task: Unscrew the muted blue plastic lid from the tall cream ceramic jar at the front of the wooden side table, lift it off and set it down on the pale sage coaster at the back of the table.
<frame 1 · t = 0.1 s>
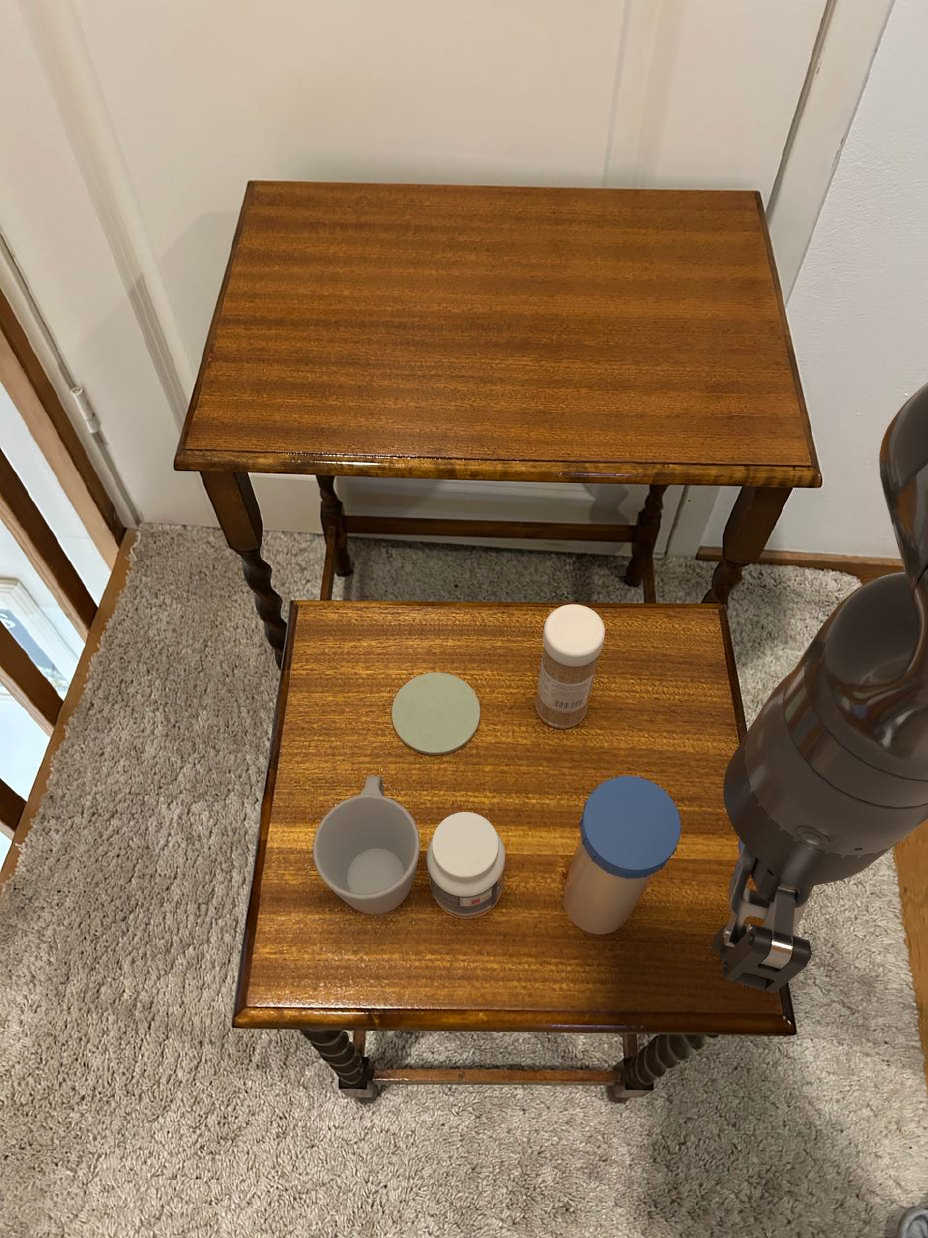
hand: (740, 874, 53), 20 cm above the table, tool pointing down, fingers open, 8 cm apart
pill bottle: (466, 884, 73), on the table
sprinkles bottle: (560, 707, 81), on the table
jar: (597, 898, 72), on the table
coaster: (436, 714, 81), on the table
cup: (377, 864, 74), on the table
jar lid: (631, 823, 57), point 18 cm above the table, screwed on, not yet turned
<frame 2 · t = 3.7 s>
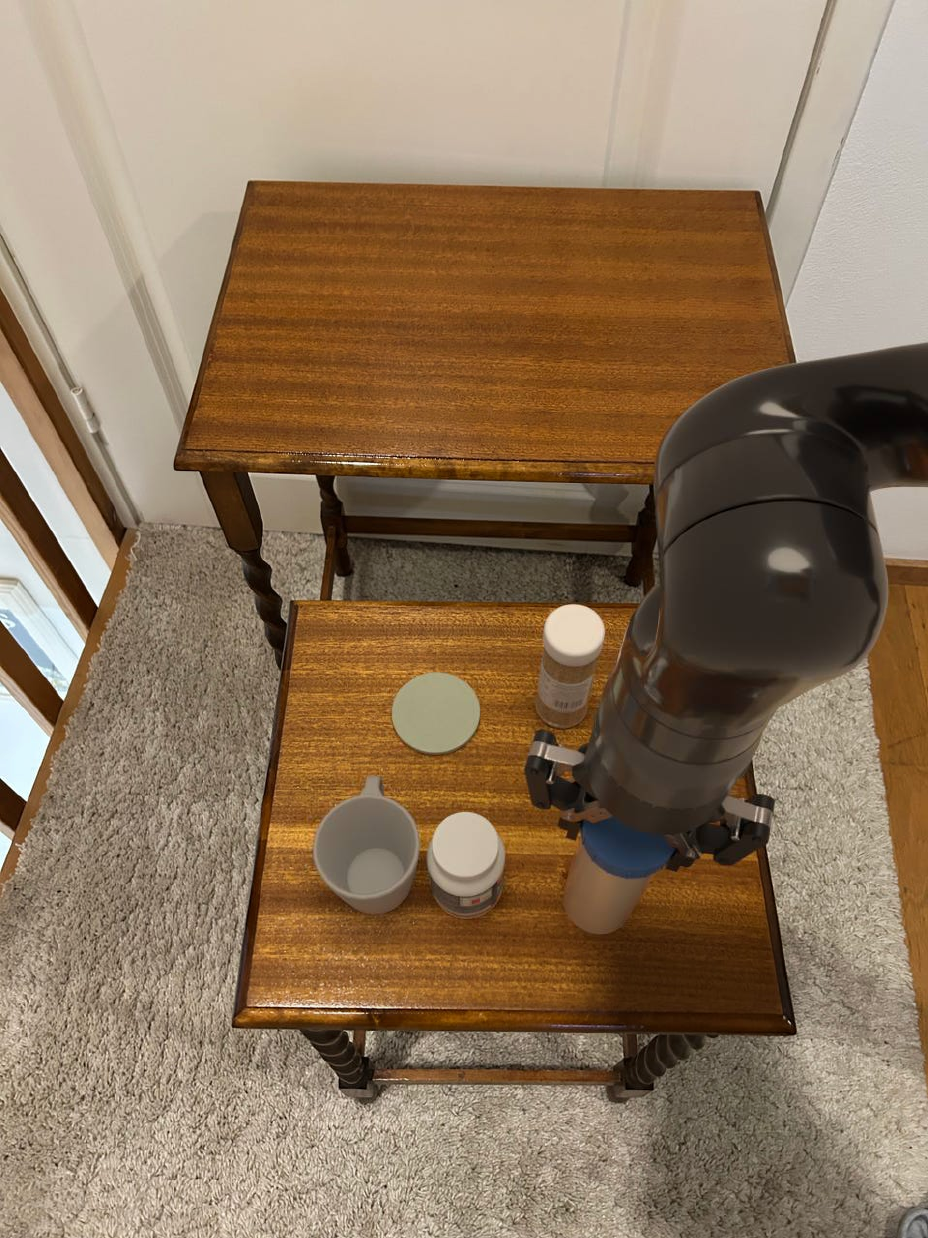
hand: (623, 840, 60), 14 cm above the table, tool pointing down, fingers closed on jar lid, 6 cm apart
jar lid: (631, 823, 57), point 18 cm above the table, screwed on, not yet turned, touching gripper
everything else where it was.
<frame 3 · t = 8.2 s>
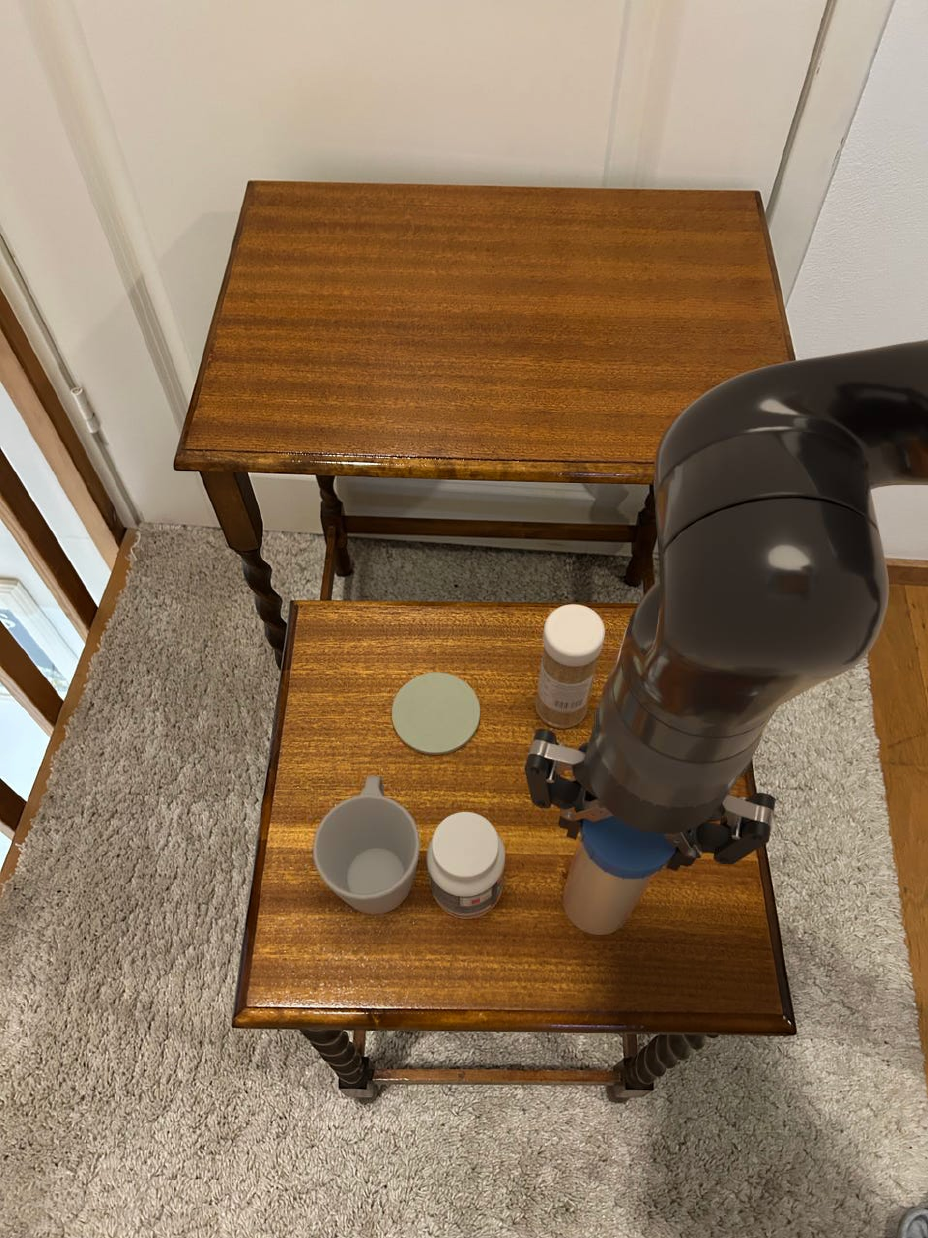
hand: (623, 839, 60), 15 cm above the table, tool pointing down, fingers closed on jar lid, 6 cm apart
jar lid: (631, 824, 57), point 18 cm above the table, turned 108° so far, risen 0.1 cm, still on its thread, touching gripper
everything else where it was.
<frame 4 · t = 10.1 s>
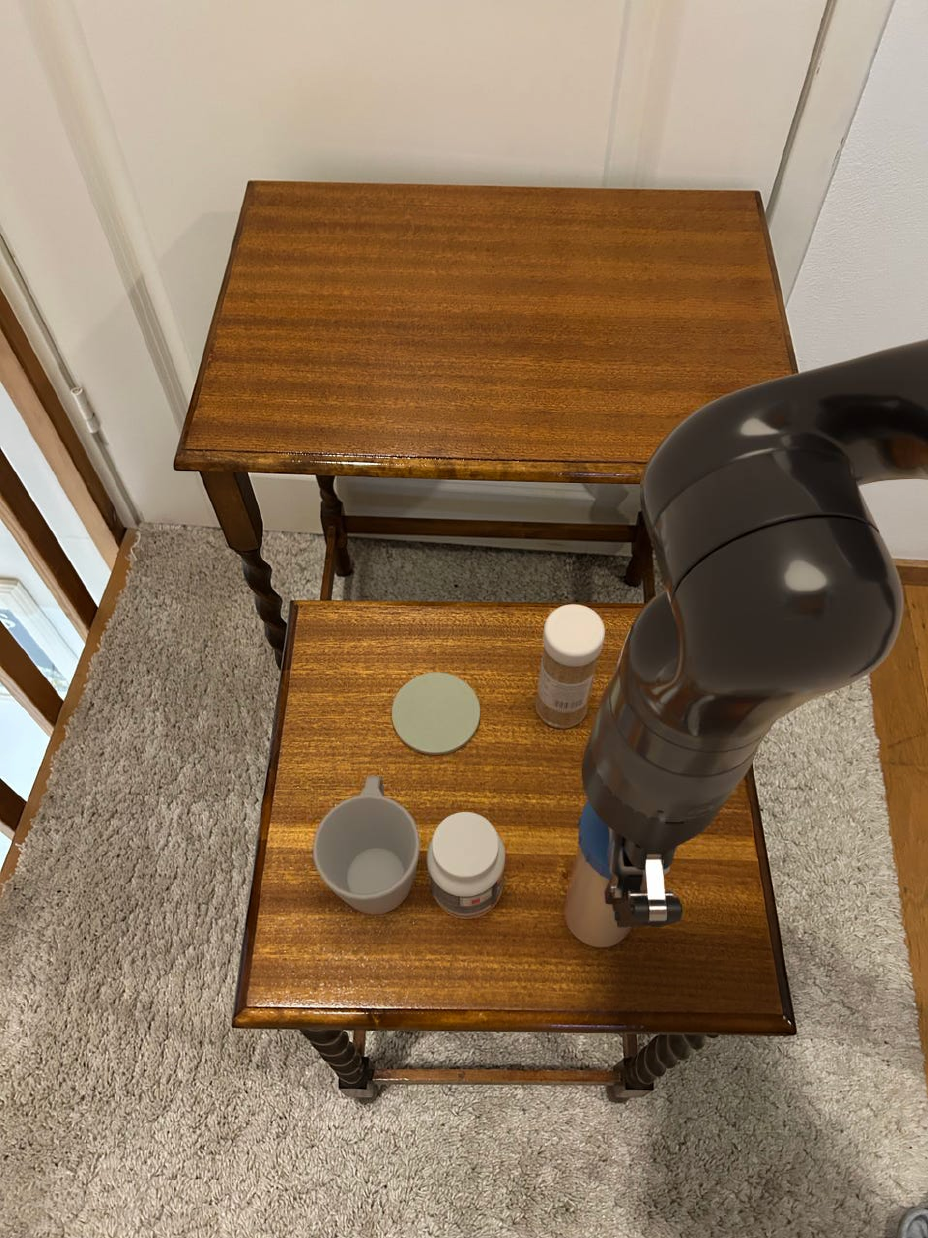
hand: (616, 849, 60), 14 cm above the table, tool pointing down, fingers closed on jar lid, 5 cm apart
jar: (598, 911, 72), on the table, touching gripper
jar lid: (629, 828, 57), point 18 cm above the table, turned 203° so far, risen 0.3 cm, still on its thread, touching gripper
everything else where it was.
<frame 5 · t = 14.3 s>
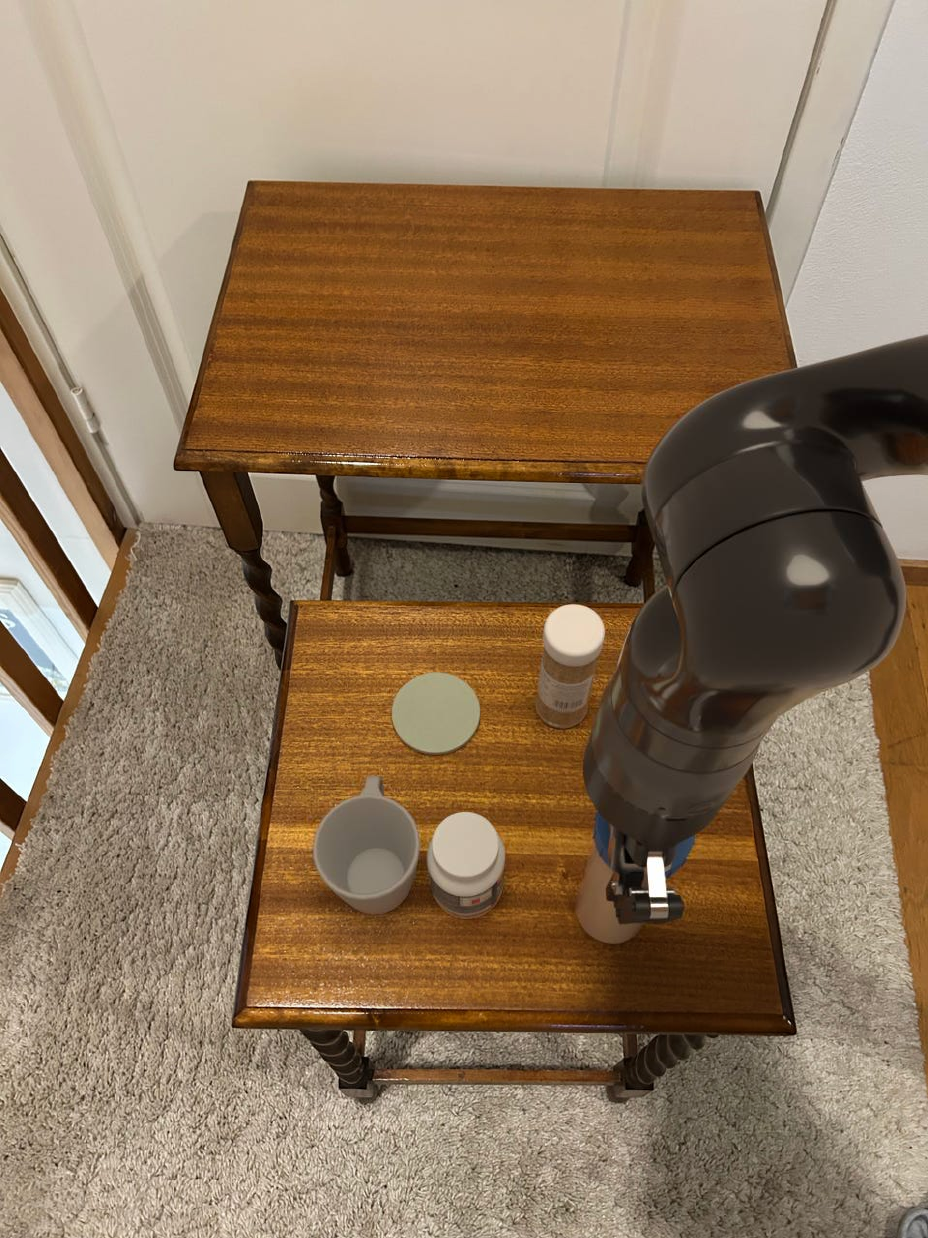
hand: (617, 847, 60), 14 cm above the table, tool pointing down, fingers closed on jar lid, 5 cm apart
jar lid: (645, 827, 57), point 18 cm above the table, turned 297° so far, risen 0.4 cm, still on its thread, touching gripper
everything else where it was.
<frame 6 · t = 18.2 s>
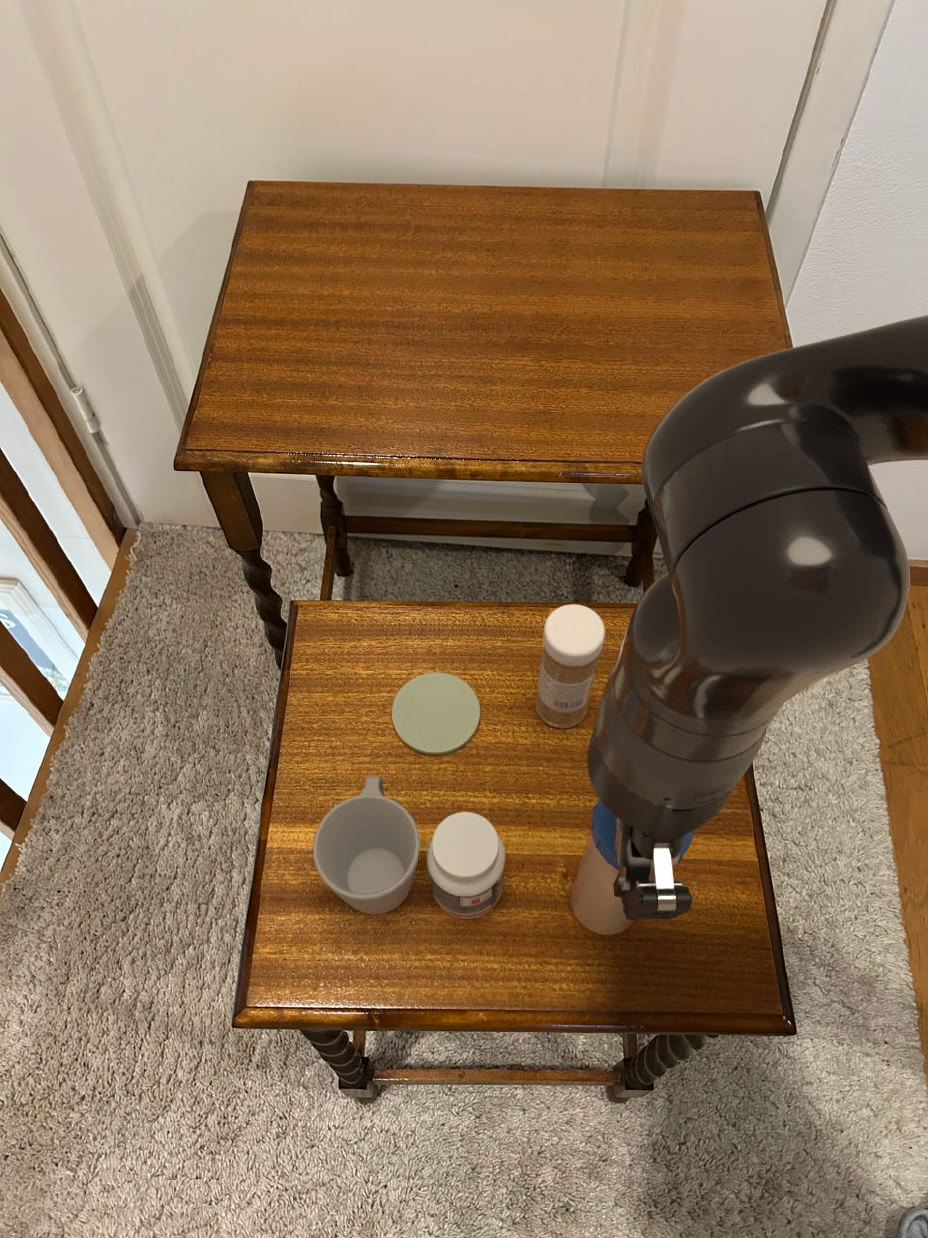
hand: (625, 839, 59), 15 cm above the table, tool pointing down, fingers closed on jar lid, 6 cm apart
jar: (604, 899, 72), on the table
jar lid: (643, 822, 56), point 18 cm above the table, off its thread, touching gripper
everything else where it was.
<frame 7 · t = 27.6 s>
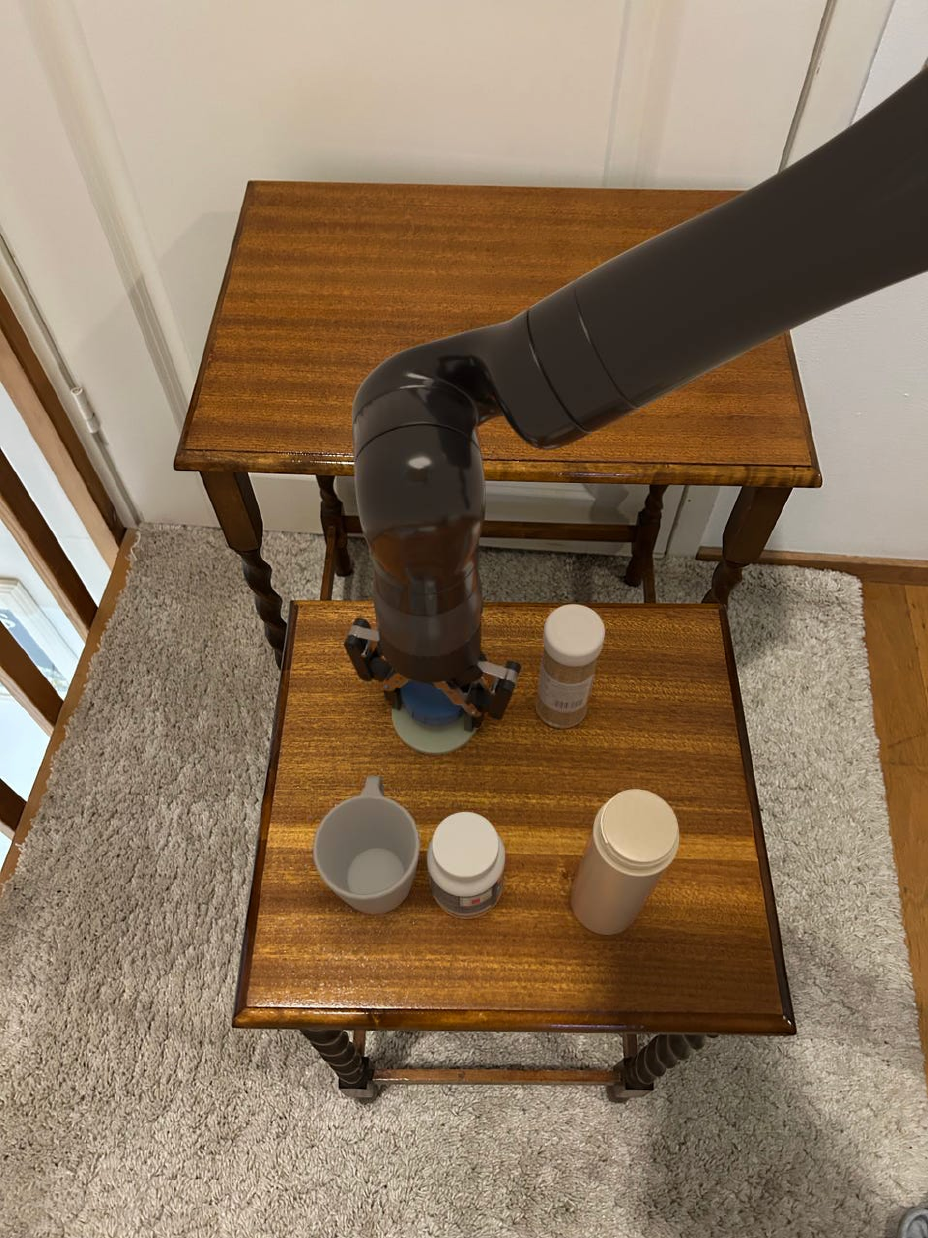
hand: (435, 710, 80), 1 cm above the table, tool pointing down, fingers closed on jar lid, 6 cm apart
jar lid: (436, 686, 77), point 4 cm above the table, off its thread, touching gripper
everything else where it was.
when the fingers open (1 cm above the table, at t = 34.5 s): jar lid drops 3 cm, resting on coaster.
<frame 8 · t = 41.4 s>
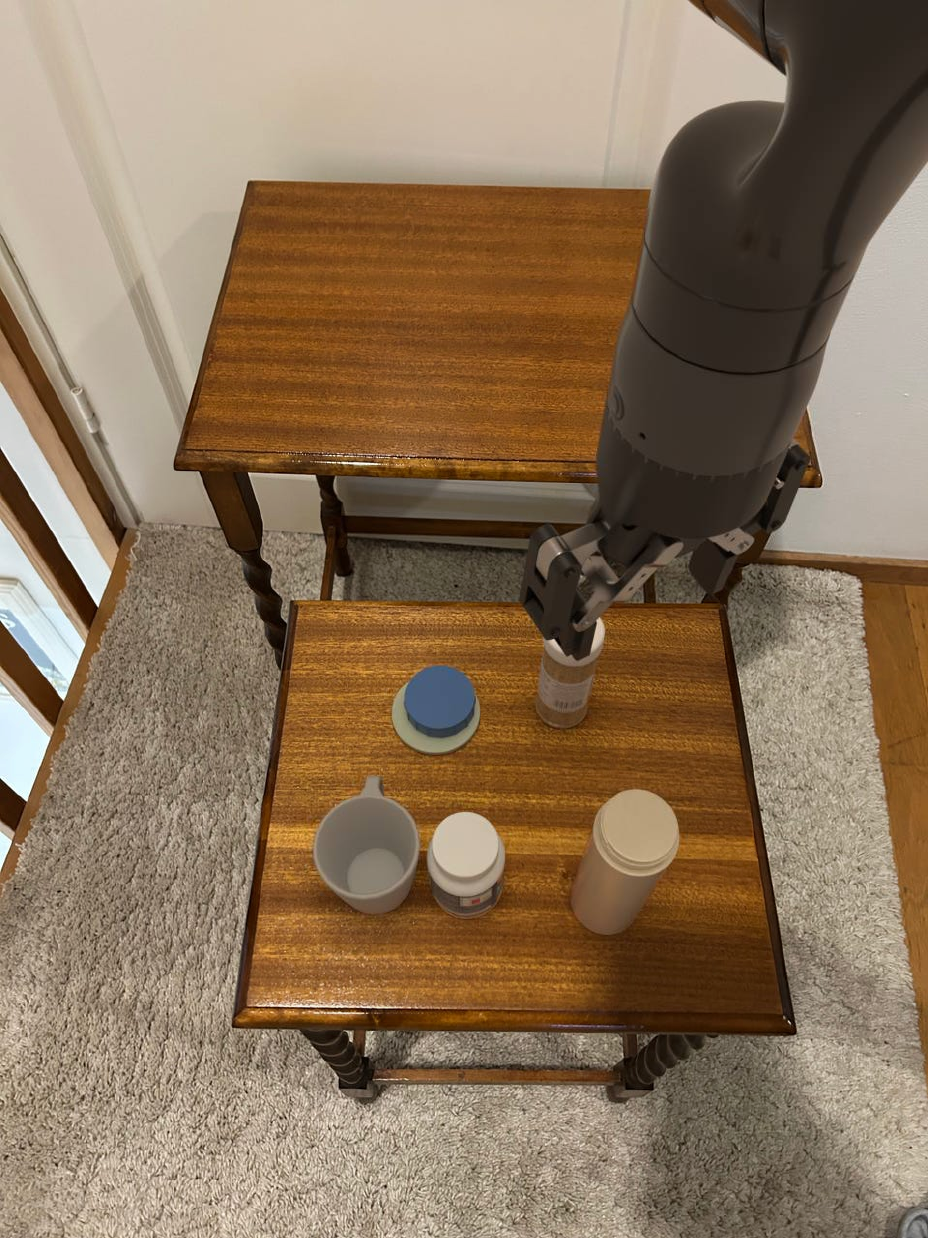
hand: (639, 612, 51), 30 cm above the table, tool pointing down, fingers open, 8 cm apart
jar lid: (439, 698, 79), point 2 cm above the table, off its thread, touching coaster
everything else where it was.
at the end: jar lid came off its thread; jar lid 0.6 cm off-centre on the coaster, point 2.1 cm above the coaster's base; the gripper is holding nothing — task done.
